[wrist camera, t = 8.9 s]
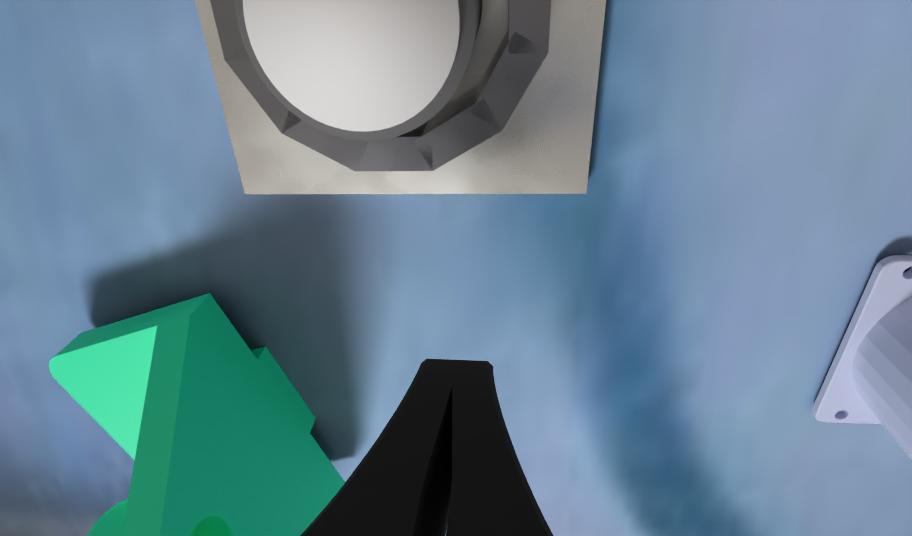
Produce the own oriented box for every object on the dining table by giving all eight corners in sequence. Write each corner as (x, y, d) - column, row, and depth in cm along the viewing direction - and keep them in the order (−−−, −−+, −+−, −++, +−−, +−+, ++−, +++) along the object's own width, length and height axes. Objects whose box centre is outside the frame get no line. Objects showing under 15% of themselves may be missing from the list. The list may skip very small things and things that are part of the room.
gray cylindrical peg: (479, -110, 13) (468, -144, 9) (485, 89, 16) (478, 140, 11) (293, -94, 14) (194, -119, 9) (328, 96, 16) (262, 148, 12)
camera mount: (82, 322, 23) (-172, 544, 14) (222, 278, 21) (29, 501, 13) (229, 487, 29) (110, 721, 20) (350, 463, 27) (278, 708, 18)
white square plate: (633, -303, 12) (670, -378, 9) (583, 186, 18) (598, 226, 15) (138, -265, 13) (45, -323, 10) (251, 187, 19) (211, 224, 16)
